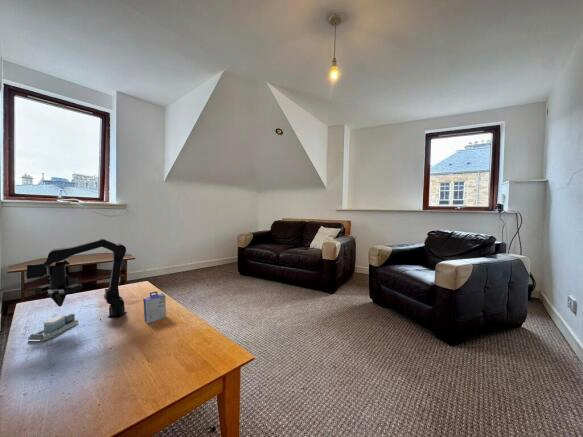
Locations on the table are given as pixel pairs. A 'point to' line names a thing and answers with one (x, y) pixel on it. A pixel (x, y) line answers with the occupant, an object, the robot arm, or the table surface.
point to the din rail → (43, 336)
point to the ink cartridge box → (154, 307)
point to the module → (54, 324)
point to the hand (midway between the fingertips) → (60, 306)
